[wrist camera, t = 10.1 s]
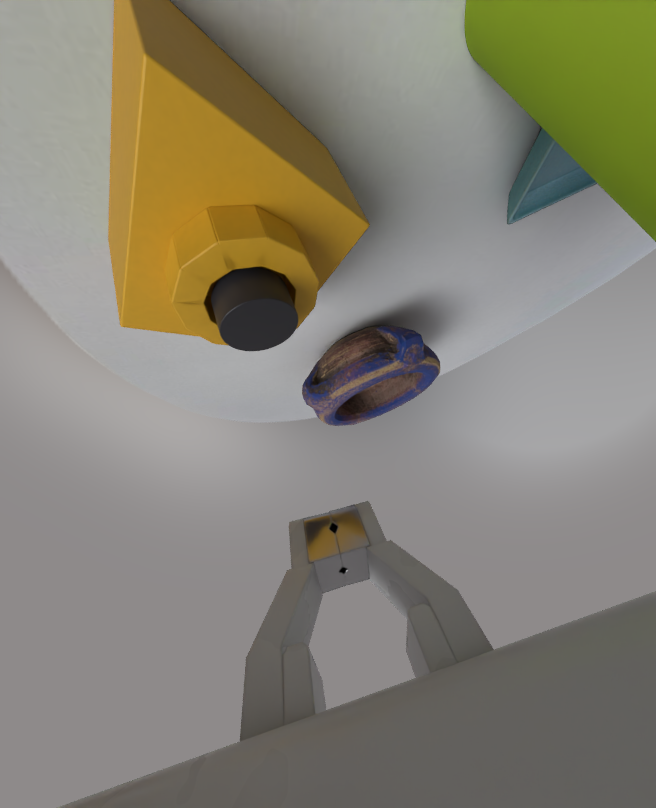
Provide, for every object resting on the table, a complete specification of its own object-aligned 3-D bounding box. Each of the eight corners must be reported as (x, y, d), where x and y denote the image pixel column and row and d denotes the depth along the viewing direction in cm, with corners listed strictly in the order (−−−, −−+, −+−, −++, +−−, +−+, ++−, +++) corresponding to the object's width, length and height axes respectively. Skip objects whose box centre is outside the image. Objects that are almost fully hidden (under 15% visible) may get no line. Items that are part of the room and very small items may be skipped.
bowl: (412, 272, 26) (458, 351, 23) (412, 340, 43) (439, 391, 40) (272, 350, 30) (297, 424, 28) (322, 384, 47) (341, 433, 44)
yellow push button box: (115, -51, 7) (154, 93, 5) (327, 148, 14) (386, 252, 12) (108, 239, 14) (124, 357, 12) (253, 284, 20) (282, 366, 18)
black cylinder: (226, 253, 9) (237, 288, 9) (301, 281, 12) (313, 309, 11) (200, 317, 12) (208, 347, 11) (267, 328, 14) (276, 354, 14)
